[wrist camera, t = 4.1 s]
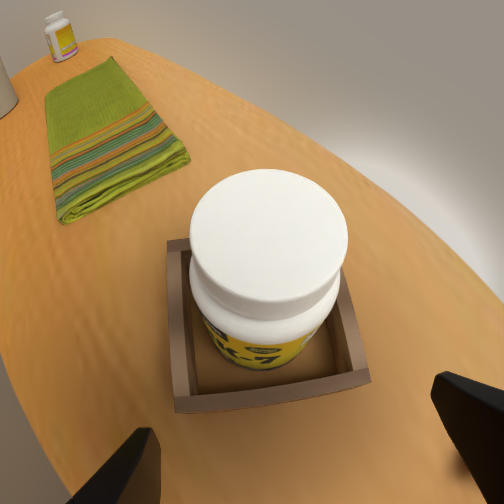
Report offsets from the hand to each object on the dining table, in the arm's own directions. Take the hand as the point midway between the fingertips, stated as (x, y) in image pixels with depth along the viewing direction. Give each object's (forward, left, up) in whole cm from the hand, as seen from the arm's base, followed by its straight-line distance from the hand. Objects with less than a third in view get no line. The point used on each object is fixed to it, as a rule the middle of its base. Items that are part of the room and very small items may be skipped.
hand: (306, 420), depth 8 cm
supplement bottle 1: (+47, +68, -13) cm, 83 cm away
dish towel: (+24, +35, -14) cm, 44 cm away
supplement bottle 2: (+6, +3, -13) cm, 15 cm away
